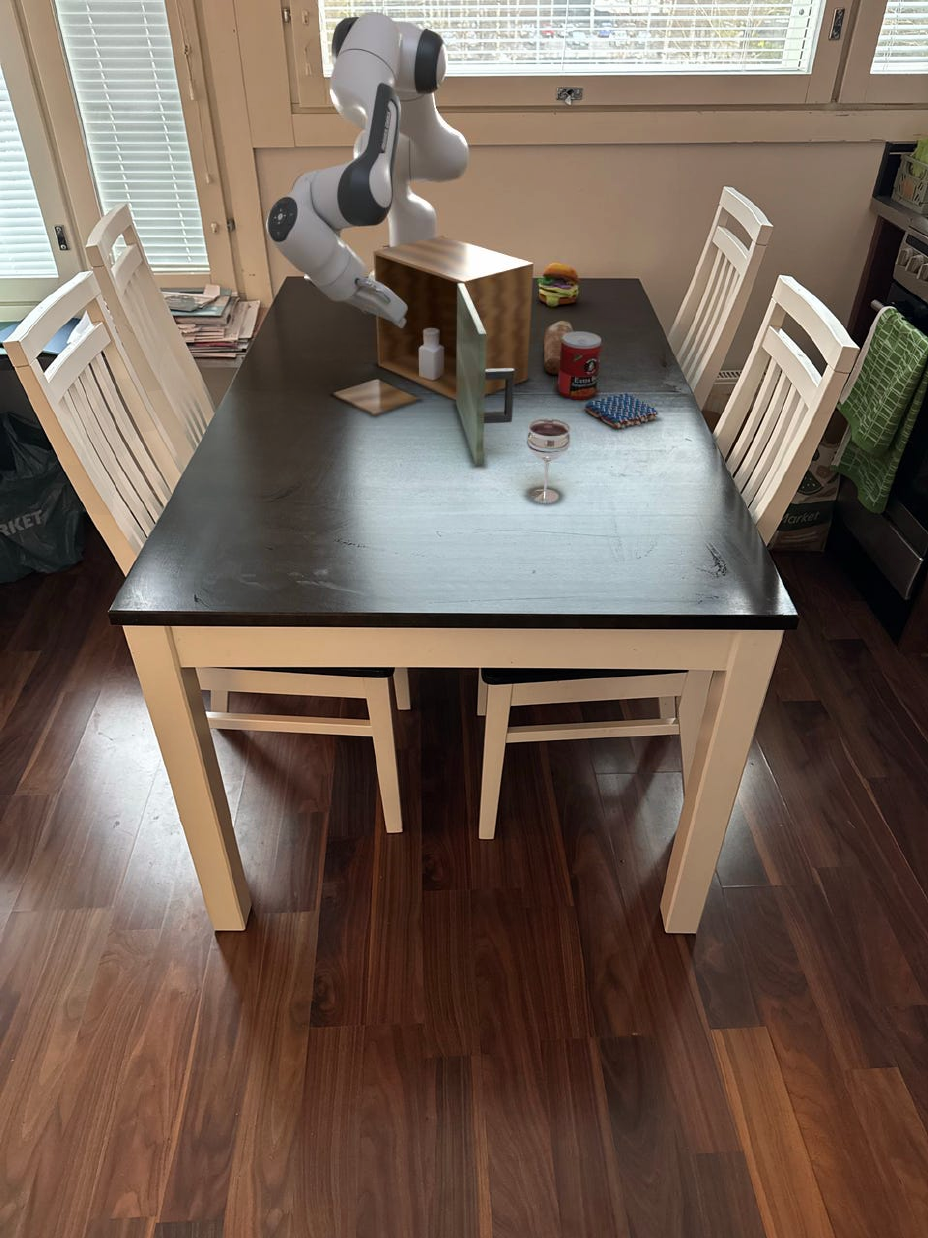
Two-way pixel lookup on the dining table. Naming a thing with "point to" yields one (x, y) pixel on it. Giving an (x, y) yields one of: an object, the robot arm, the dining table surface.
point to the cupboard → (454, 307)
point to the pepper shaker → (431, 355)
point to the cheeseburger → (558, 285)
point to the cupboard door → (476, 376)
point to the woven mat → (621, 410)
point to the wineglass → (547, 449)
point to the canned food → (579, 365)
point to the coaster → (375, 397)
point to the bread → (554, 345)
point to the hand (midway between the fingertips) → (386, 317)
